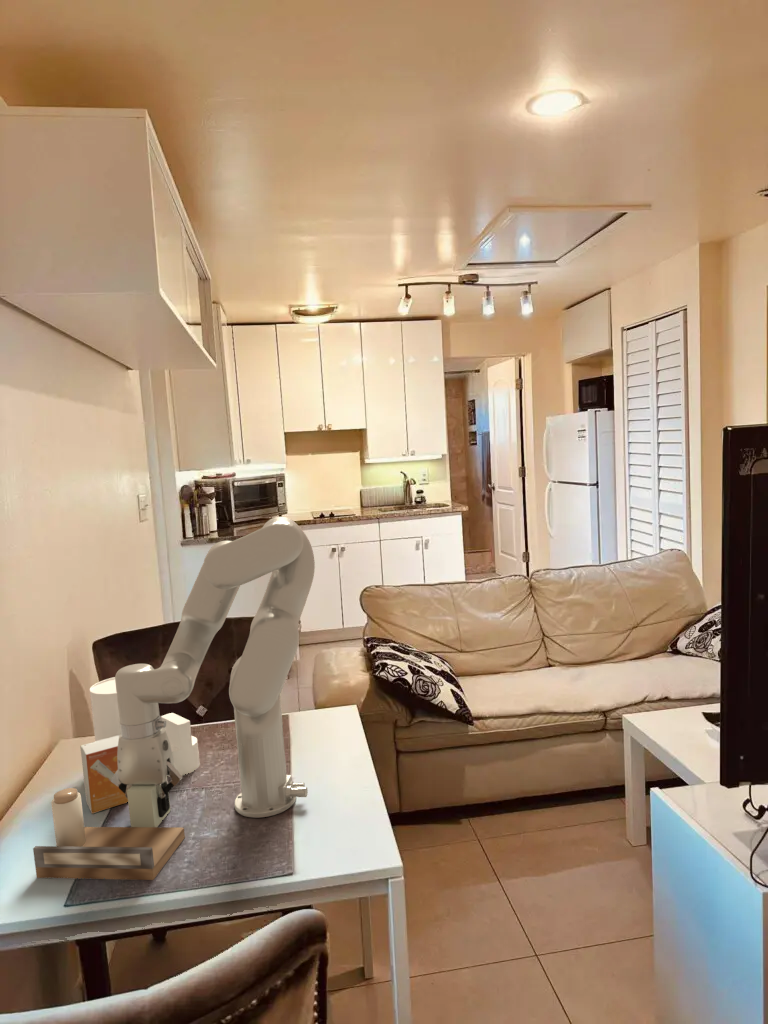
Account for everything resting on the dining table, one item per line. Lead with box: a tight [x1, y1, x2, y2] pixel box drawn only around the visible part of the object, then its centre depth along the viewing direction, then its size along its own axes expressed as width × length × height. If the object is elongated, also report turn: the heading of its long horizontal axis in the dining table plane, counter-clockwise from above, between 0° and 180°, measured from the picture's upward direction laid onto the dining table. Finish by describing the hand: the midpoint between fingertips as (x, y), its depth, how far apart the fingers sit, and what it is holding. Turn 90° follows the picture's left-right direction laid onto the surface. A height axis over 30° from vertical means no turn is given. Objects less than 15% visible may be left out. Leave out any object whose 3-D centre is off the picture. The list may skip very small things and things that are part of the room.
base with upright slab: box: [160, 712, 201, 778], centre depth 161 cm, size 9×9×12 cm
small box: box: [80, 735, 128, 814], centre depth 147 cm, size 8×6×13 cm
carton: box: [127, 776, 171, 827], centre depth 138 cm, size 5×7×8 cm
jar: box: [50, 787, 86, 847], centre depth 128 cm, size 5×5×10 cm
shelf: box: [32, 826, 186, 881], centre depth 126 cm, size 22×13×6 cm, turn 82°
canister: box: [89, 676, 121, 742], centre depth 165 cm, size 14×14×20 cm
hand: (150, 812), depth 139 cm, fingers closed on carton, 5 cm apart
